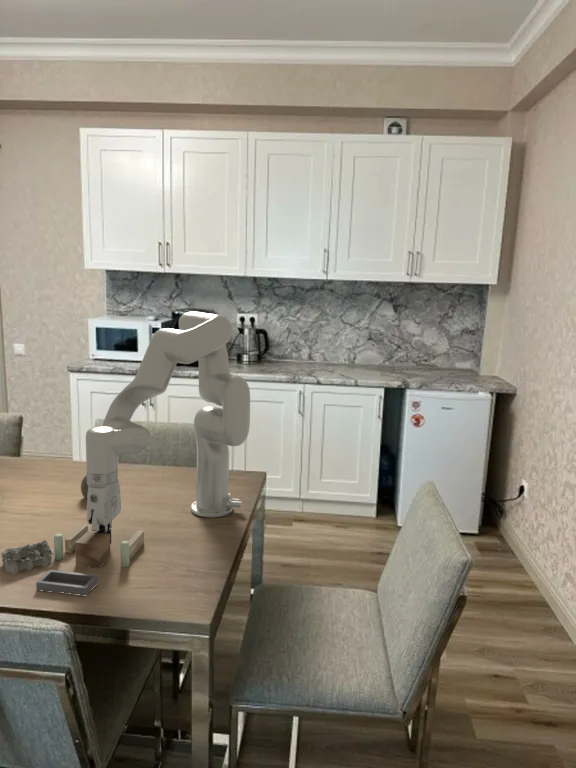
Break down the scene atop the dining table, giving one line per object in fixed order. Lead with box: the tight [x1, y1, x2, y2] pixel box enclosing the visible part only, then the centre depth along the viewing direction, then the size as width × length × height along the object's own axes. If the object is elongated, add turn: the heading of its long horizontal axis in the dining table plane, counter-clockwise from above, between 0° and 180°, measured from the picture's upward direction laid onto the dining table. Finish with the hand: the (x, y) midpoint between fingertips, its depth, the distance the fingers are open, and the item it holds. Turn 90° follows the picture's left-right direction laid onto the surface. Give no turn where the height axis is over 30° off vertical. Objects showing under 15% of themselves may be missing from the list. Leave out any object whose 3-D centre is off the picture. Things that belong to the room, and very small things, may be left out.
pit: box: [35, 569, 99, 596], centre depth 129 cm, size 12×6×2 cm, turn 82°
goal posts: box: [53, 533, 130, 569], centre depth 139 cm, size 19×2×6 cm, turn 82°
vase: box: [80, 474, 89, 500], centre depth 177 cm, size 7×7×9 cm
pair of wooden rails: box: [64, 523, 145, 561], centre depth 147 cm, size 17×9×4 cm, turn 82°
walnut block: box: [74, 531, 111, 569], centre depth 140 cm, size 6×6×6 cm
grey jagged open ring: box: [0, 539, 54, 575], centre depth 138 cm, size 11×8×4 cm
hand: (104, 544), depth 146 cm, fingers closed
